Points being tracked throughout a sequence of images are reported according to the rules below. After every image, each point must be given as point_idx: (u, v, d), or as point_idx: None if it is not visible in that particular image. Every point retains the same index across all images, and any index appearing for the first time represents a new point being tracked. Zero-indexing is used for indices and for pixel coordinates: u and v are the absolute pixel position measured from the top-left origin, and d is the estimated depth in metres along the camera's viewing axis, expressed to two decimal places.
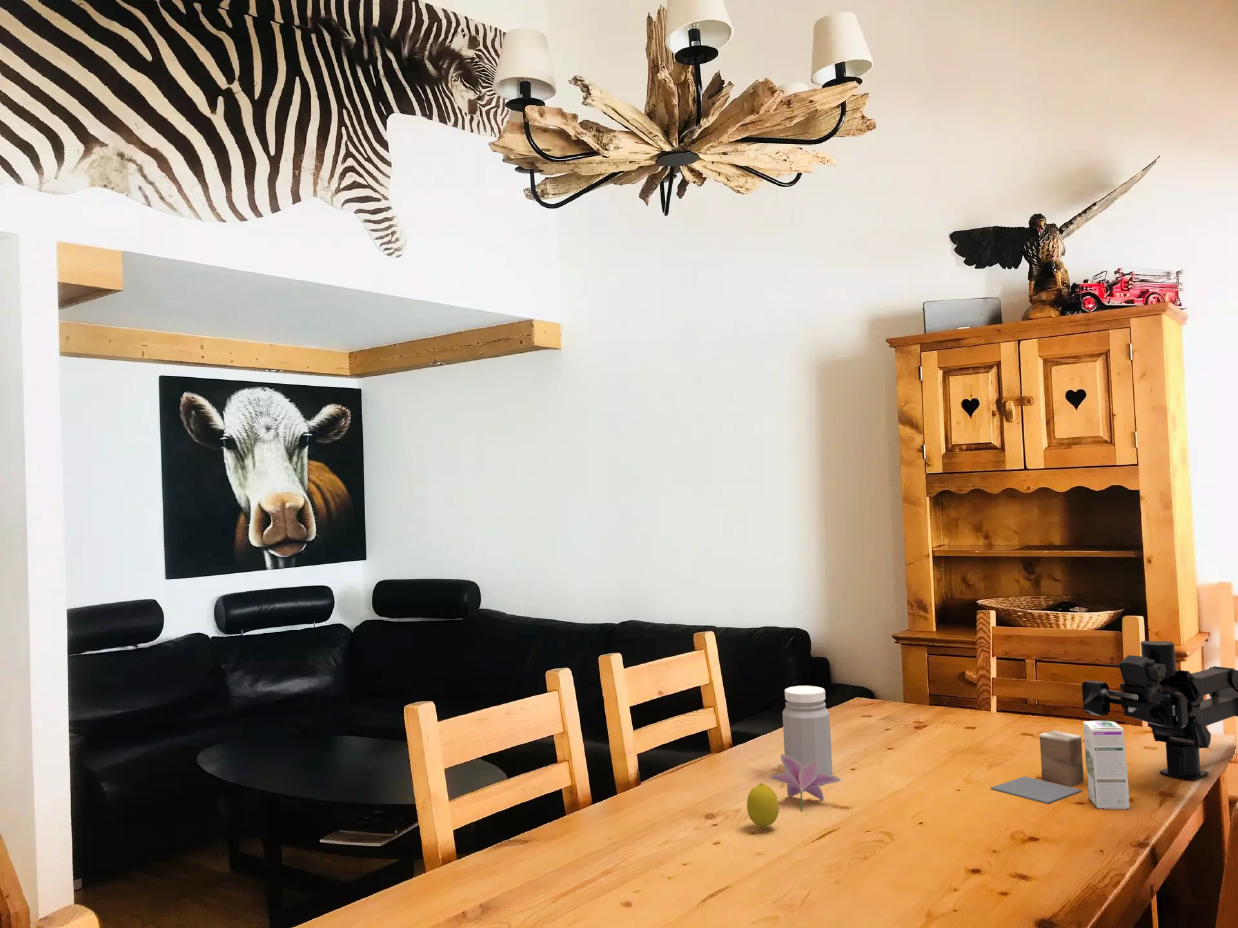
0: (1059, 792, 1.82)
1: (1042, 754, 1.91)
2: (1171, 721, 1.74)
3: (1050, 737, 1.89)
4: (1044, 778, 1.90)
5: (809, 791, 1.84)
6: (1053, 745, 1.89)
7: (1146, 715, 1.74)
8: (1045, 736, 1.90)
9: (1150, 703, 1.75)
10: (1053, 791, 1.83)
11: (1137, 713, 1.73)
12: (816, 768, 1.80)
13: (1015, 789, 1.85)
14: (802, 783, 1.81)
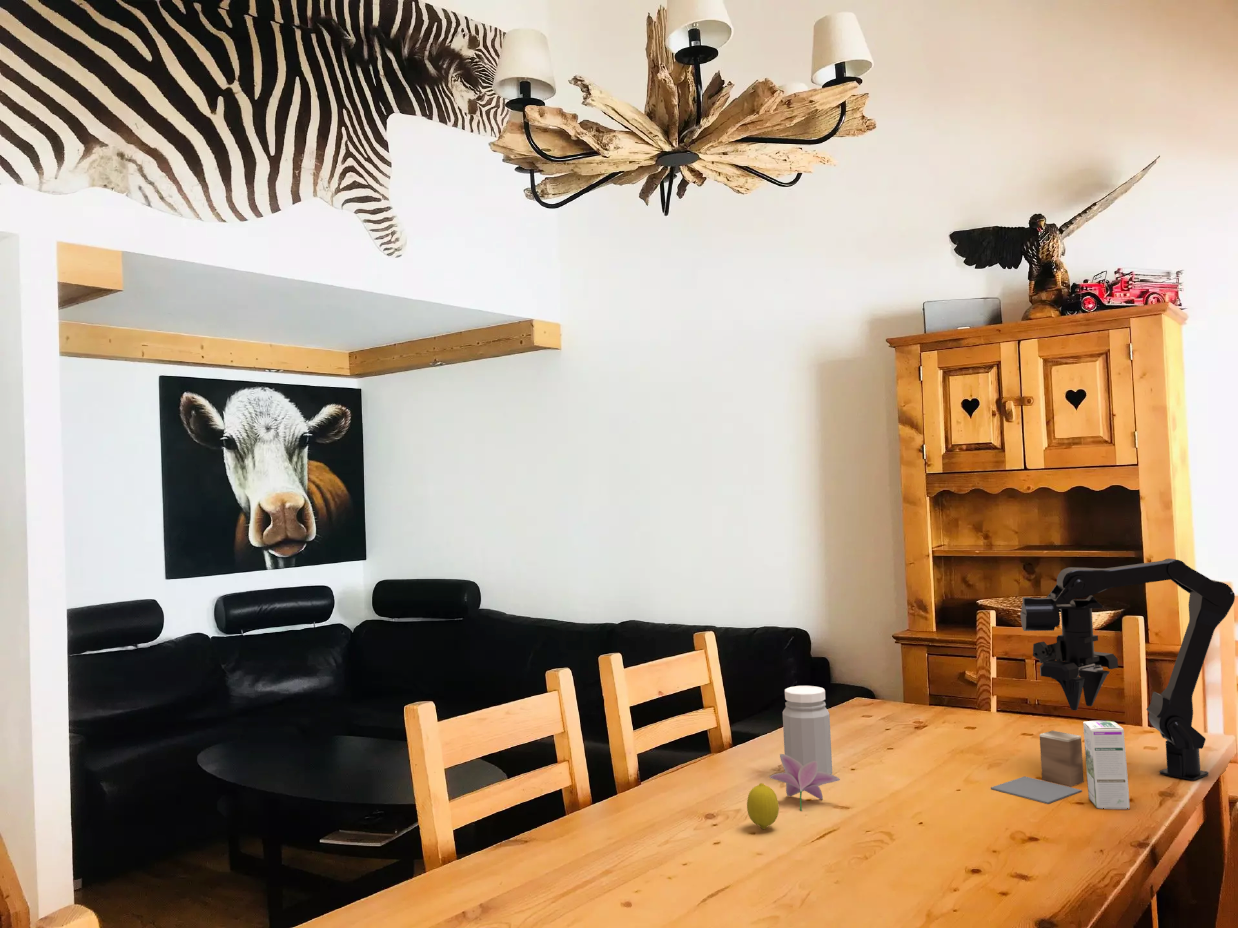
0: (1059, 792, 1.82)
1: (1042, 754, 1.91)
2: (1071, 681, 1.90)
3: (1050, 737, 1.89)
4: (1044, 778, 1.90)
5: (808, 791, 1.84)
6: (1053, 745, 1.89)
7: (1072, 697, 1.92)
8: (1045, 736, 1.90)
9: None
10: (1053, 791, 1.83)
11: (1072, 706, 1.93)
12: (815, 768, 1.80)
13: (1015, 789, 1.85)
14: (801, 782, 1.81)
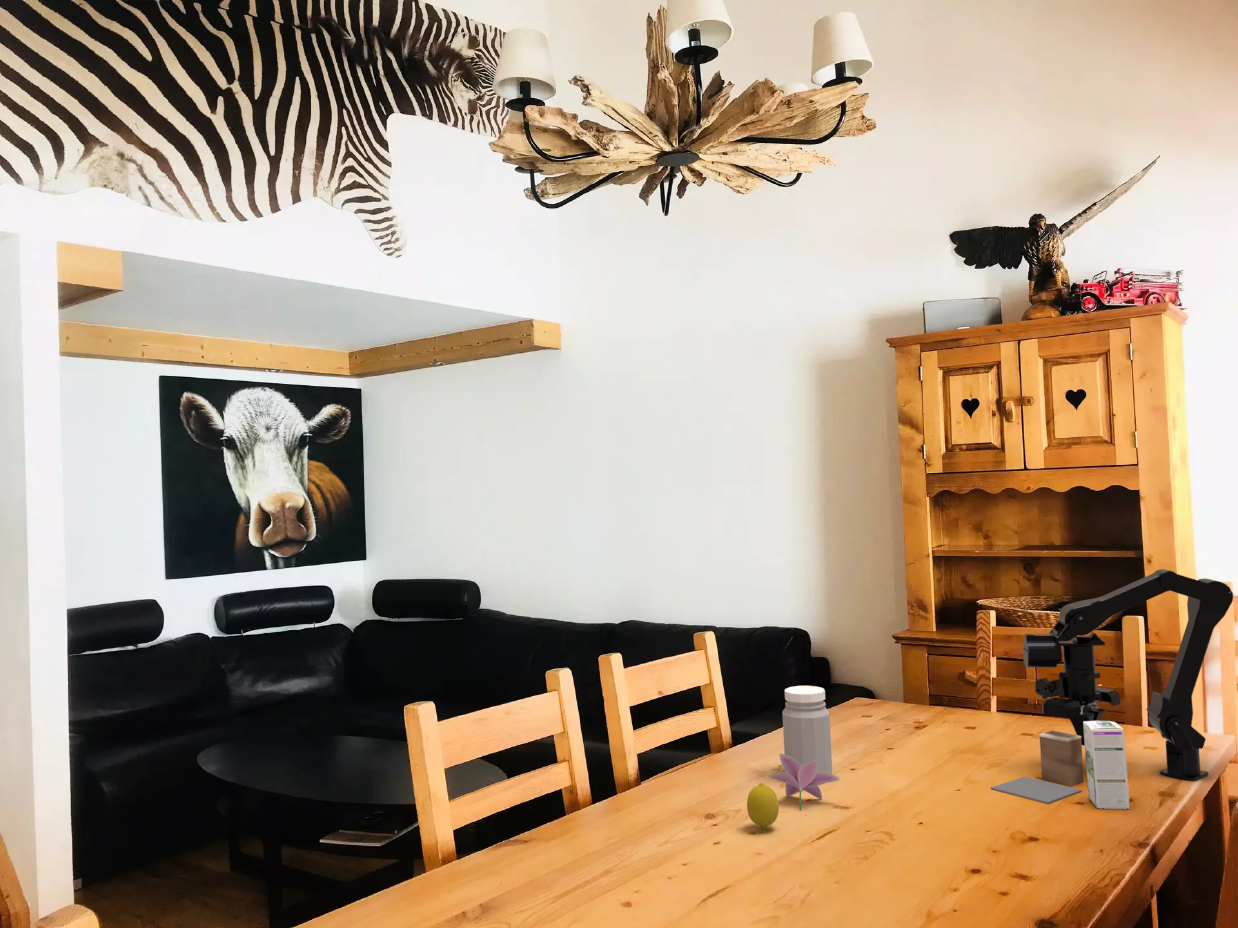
0: (1059, 792, 1.82)
1: (1042, 754, 1.91)
2: (1080, 716, 1.91)
3: (1050, 737, 1.89)
4: (1044, 778, 1.90)
5: (808, 790, 1.84)
6: (1053, 745, 1.89)
7: (1082, 733, 1.93)
8: (1045, 736, 1.90)
9: None
10: (1053, 791, 1.83)
11: (1081, 741, 1.94)
12: (815, 767, 1.80)
13: (1015, 789, 1.85)
14: (801, 782, 1.81)
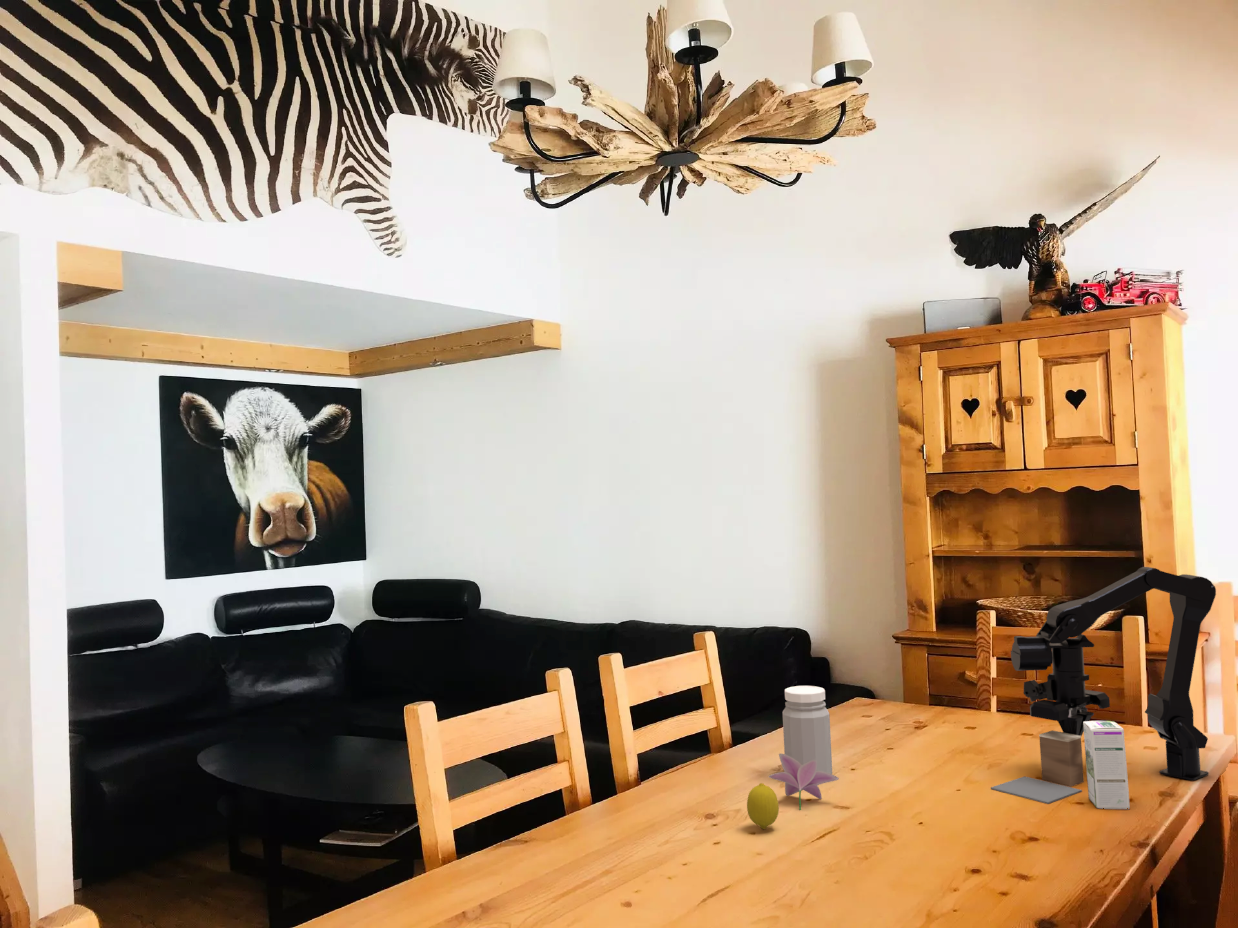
0: (1059, 792, 1.82)
1: (1042, 754, 1.91)
2: (1069, 719, 1.89)
3: (1050, 737, 1.89)
4: (1044, 778, 1.90)
5: (807, 790, 1.84)
6: (1053, 745, 1.89)
7: None
8: (1045, 736, 1.90)
9: None
10: (1053, 791, 1.83)
11: None
12: (814, 767, 1.81)
13: (1015, 789, 1.85)
14: (801, 782, 1.82)
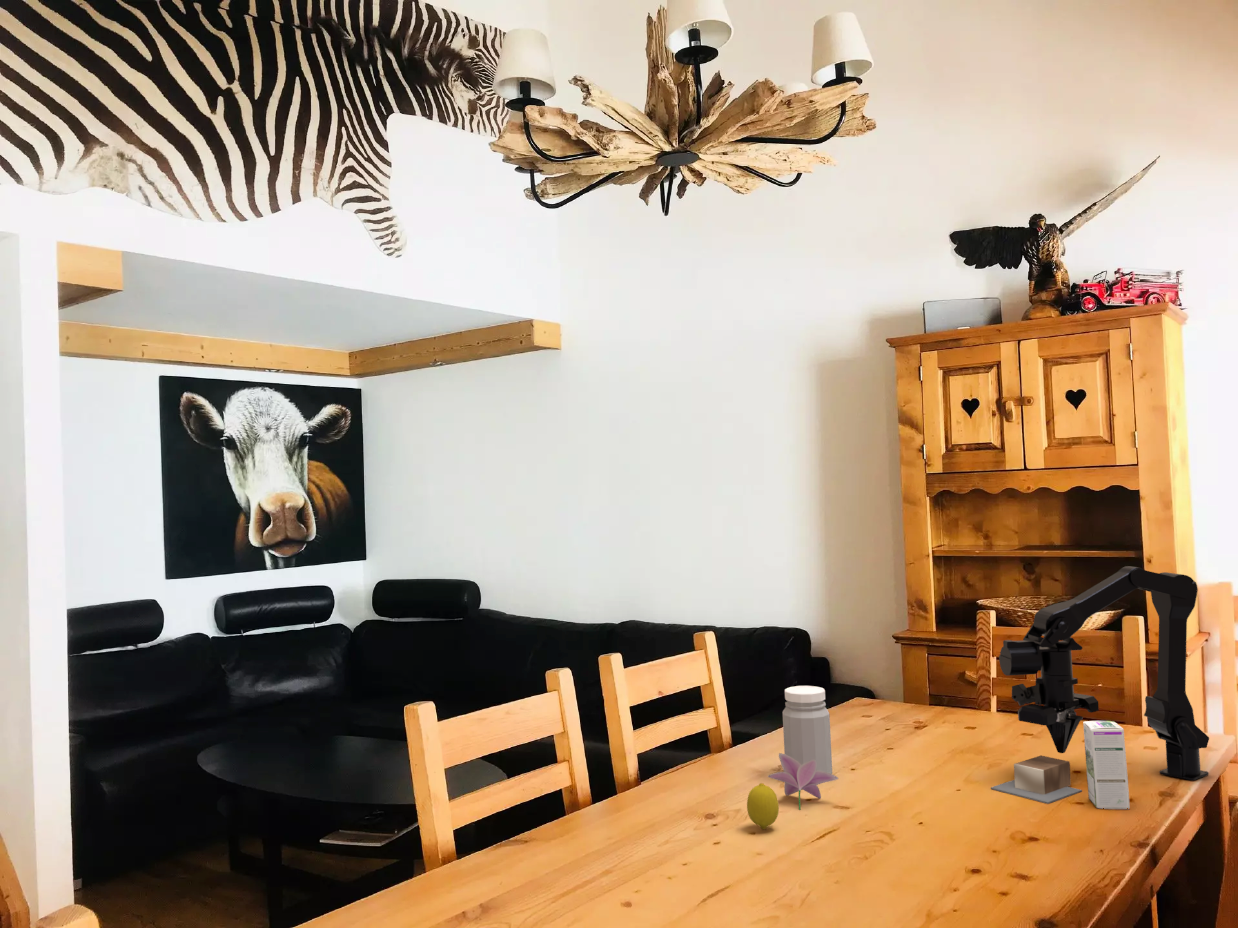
0: (1059, 792, 1.82)
1: None
2: (1057, 723, 1.87)
3: (1026, 789, 1.84)
4: None
5: (807, 790, 1.85)
6: None
7: (1059, 740, 1.89)
8: None
9: None
10: (1053, 791, 1.83)
11: (1058, 749, 1.90)
12: (814, 767, 1.81)
13: (1015, 789, 1.85)
14: (800, 781, 1.82)
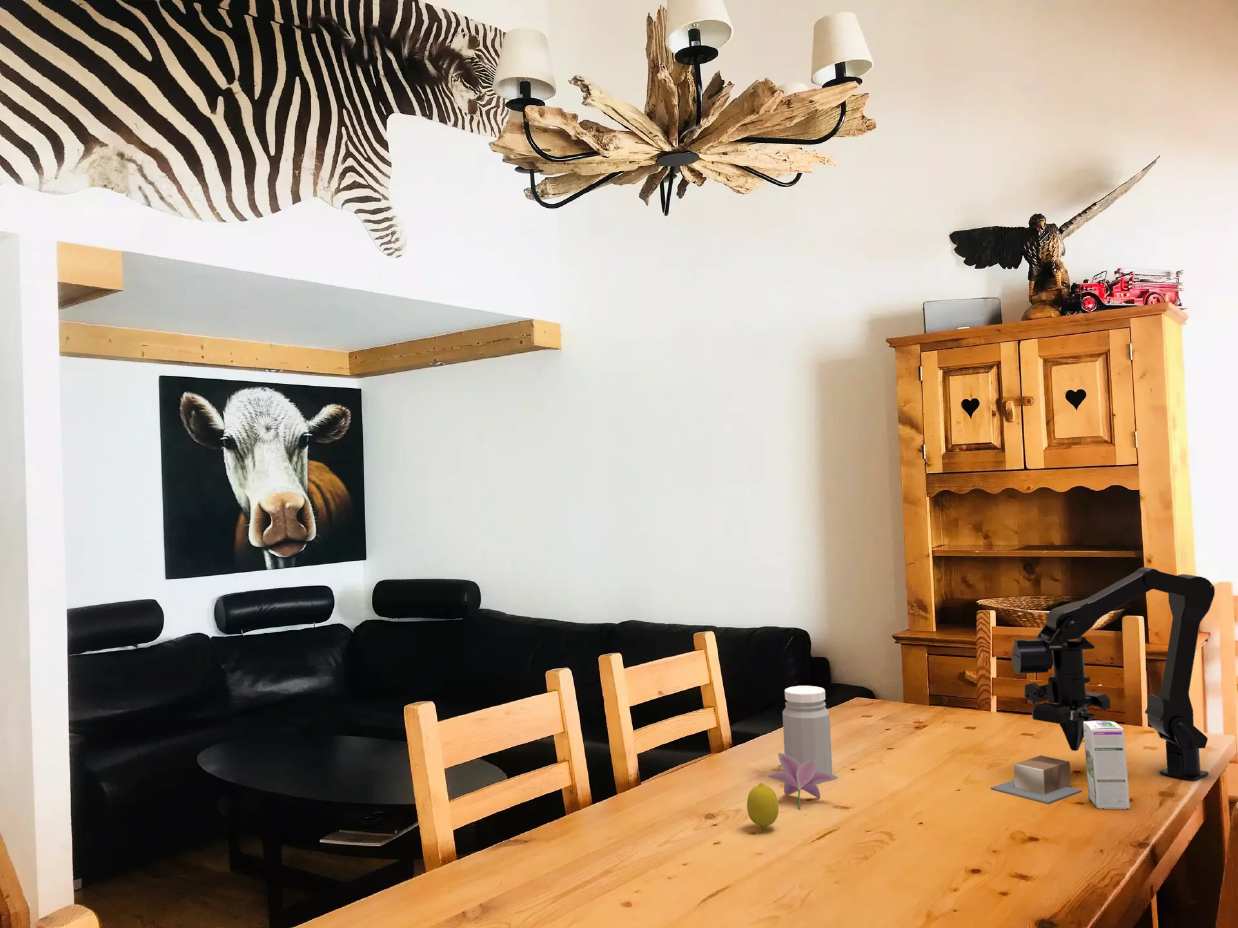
0: (1059, 792, 1.82)
1: None
2: (1070, 721, 1.89)
3: (1026, 789, 1.84)
4: None
5: (806, 789, 1.85)
6: None
7: (1072, 738, 1.91)
8: None
9: None
10: (1053, 791, 1.83)
11: (1072, 747, 1.92)
12: (814, 766, 1.81)
13: (1015, 789, 1.85)
14: (800, 781, 1.82)
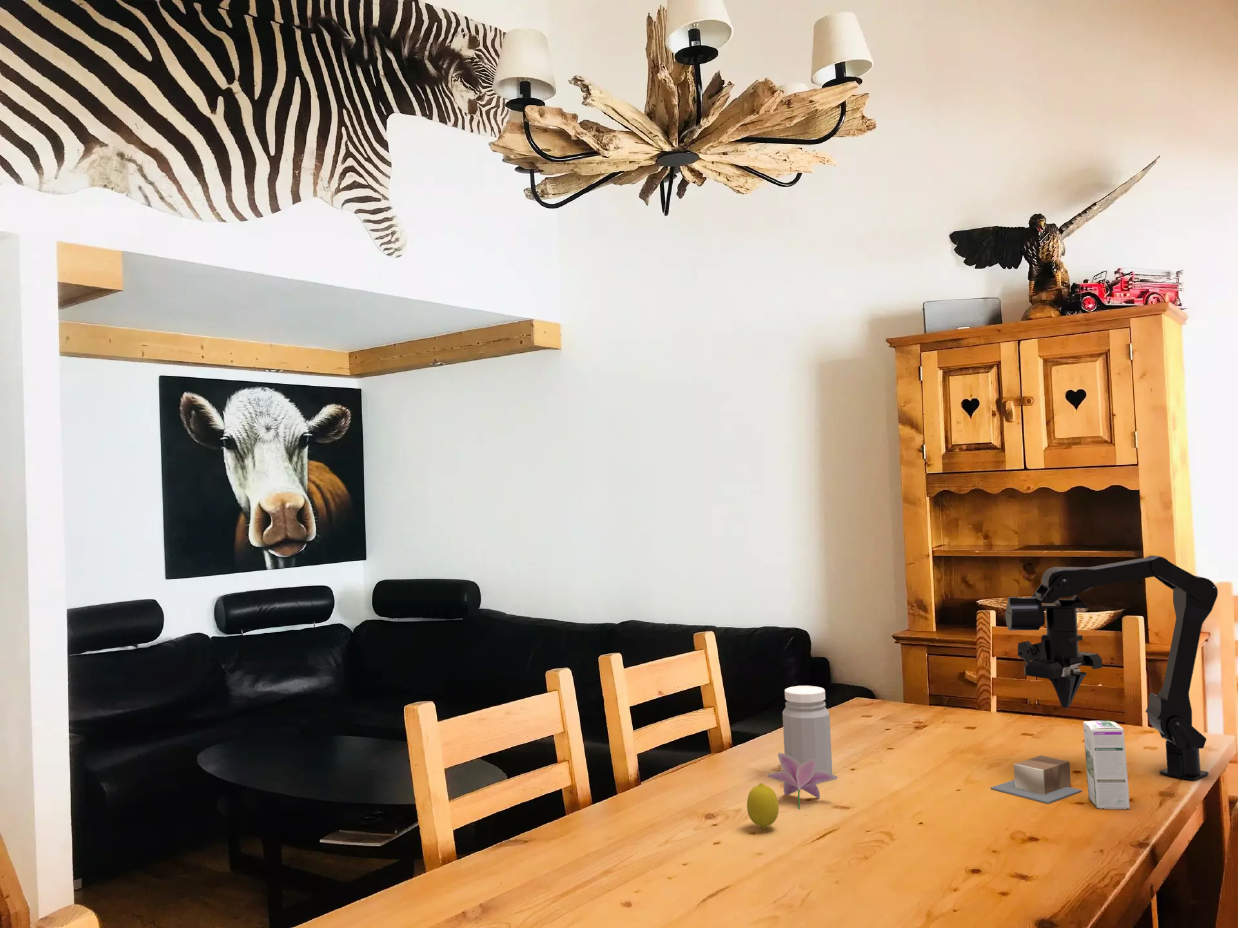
0: (1059, 792, 1.82)
1: None
2: (1062, 678, 1.91)
3: (1026, 789, 1.84)
4: None
5: (806, 789, 1.85)
6: None
7: (1063, 695, 1.93)
8: None
9: None
10: (1053, 791, 1.83)
11: (1063, 704, 1.94)
12: (813, 766, 1.81)
13: (1015, 789, 1.85)
14: (799, 781, 1.82)
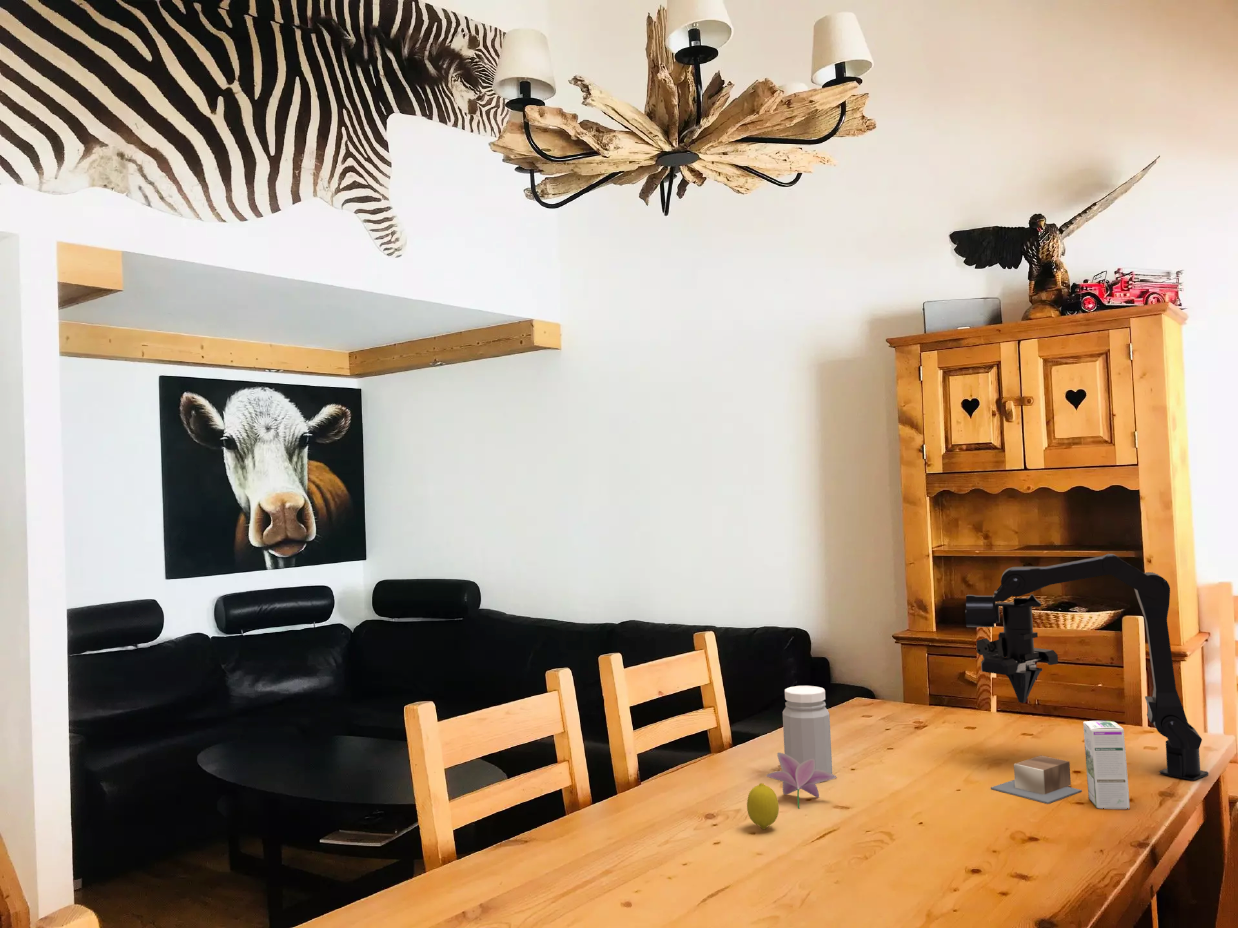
0: (1059, 792, 1.82)
1: None
2: (1018, 674, 1.98)
3: (1026, 789, 1.84)
4: None
5: (805, 789, 1.85)
6: None
7: (1020, 690, 2.01)
8: None
9: None
10: (1053, 791, 1.83)
11: (1019, 699, 2.02)
12: (813, 766, 1.82)
13: (1015, 789, 1.85)
14: (799, 780, 1.82)
